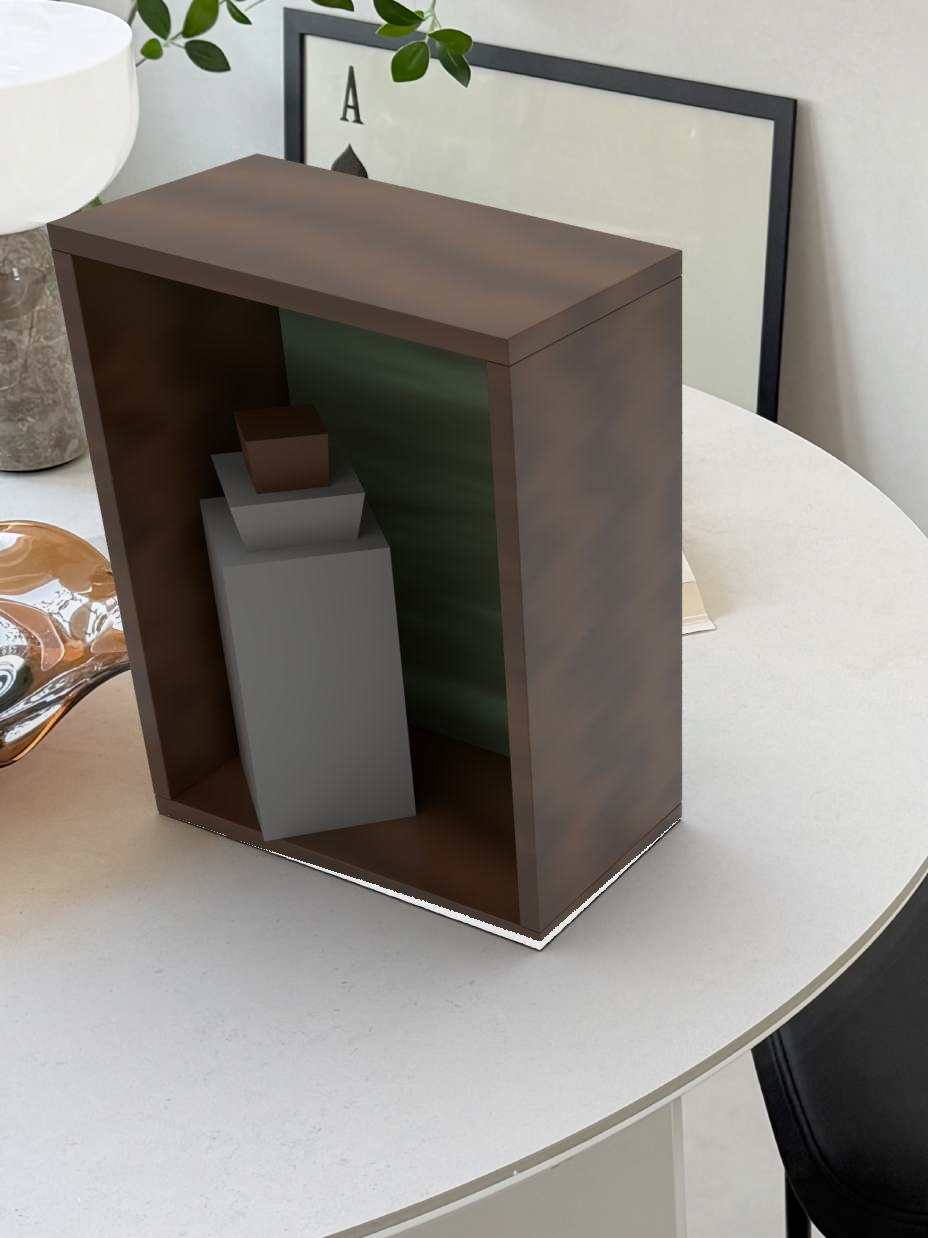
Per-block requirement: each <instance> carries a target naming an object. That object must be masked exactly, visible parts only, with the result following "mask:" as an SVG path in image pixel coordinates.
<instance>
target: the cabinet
mask: <svg viewBox="0 0 928 1238" xmlns="http://www.w3.org/2000/svg"><path fill="white" fill-rule="evenodd" d="M45 225H46V229H47V230H46V231H47V236H48V241H49V246H50V249H51V250H50V252H51V257H52V261H53V268H54V273H55V277H56V283H57V289H58V294H59V301H60V304H61V305H60V306H61V309H62V315H63V320H64V321H63V322H64V326H65V330H66V337H67V341H68V346H69V347H68V348H69V351H70V358H71V363H72V367H73V373H74V379H75V383H76V389H77V394H78V400H79V405H80V411H81V415H82V420H83V421H82V422H83V427H84V431H85V436H86V442H87V448H88V453H89V456H90V462H91V468H92V473H93V479H94V484H95V488H96V494H97V499H98V505H99V511H100V515H101V522H102V525H103V532H104V536H105V542H106V546H107V547H106V548H107V553H108V557H109V562H110V569H111V573H112V579H113V584H114V590H115V596H116V599H117V605H118V610H119V616H120V621H121V626H122V627H121V628H122V632H123V638H124V641H125V647H126V652H127V658H128V665H129V669H130V673H131V679H132V680H131V681H132V685H133V690H134V695H135V700H136V706H137V711H138V717H139V721H140V727H141V732H142V738H143V743H144V747H145V754H146V758H147V759H146V760H147V763H148V770H149V773H150V779H151V785H152V791H153V794H154V799H155V803H156V810H157V812H158V813H160V814H163V815H164V816H165V815H166V816H168V815H169V816H168V817H170V816H171V818H173V817H174V818H173V819H176V818H178V819H177V820H179V819H181V820H184V821H187V822H190V823H192V824H195V825H198V826H201V827H204V828H206V829H209V830H212V831H215V832H218V833H221V834H224V835H226V836H227V837H226V838H228V837H230V838H229V839H231V838H233V839H232V840H234V839H236V840H238V841H237V842H239V841H242V842H245V843H248V844H250V845H253V846H256V847H259V848H262V849H265V850H266V849H267V850H268V851H269V850H270V851H271V852H272V851H273V852H276V853H279V854H282V855H285V856H288V857H291V858H294V859H297V860H300V861H303V862H306V863H310V864H313V865H316V866H319V867H322V868H325V869H328V870H331V871H334V872H337V873H341V874H344V875H347V876H350V877H353V878H356V879H360V880H361V879H362V880H363V881H366V882H369V883H372V884H376V885H379V886H380V887H383V888H386V889H390V890H393V891H394V892H395V891H396V892H397V893H402V894H404V895H407V896H410V897H412V896H413V897H414V898H415V899H420V900H421V901H422V900H424V901H425V902H426V901H427V902H428V903H431V904H435V905H438V906H439V907H441V906H442V907H443V908H446V909H449V910H450V911H451V910H453V911H454V912H458V913H461V914H464V915H465V916H466V915H468V916H469V917H470V918H474V919H477V920H480V921H482V922H483V921H484V922H485V923H488V924H492V925H493V926H494V925H495V926H496V927H500V928H503V929H504V930H506V929H507V930H508V931H512V932H515V933H516V934H517V933H519V934H520V935H524V936H526V937H528V938H530V937H531V938H532V939H533V940H537V941H542V940H543V939H544V937H546V936H547V935H549V933H550V932H551V931H553V929H555V927H557V926H559V924H560V923H561V922H563V921H564V920H565V919H566V918H567V917H568V916H569V915H570V914H572V912H574V910H575V911H576V909H578V908H579V907H580V906H581V905H582V904H583V903H585V901H587V899H589V898H590V897H591V896H592V895H593V894H594V893H596V892H597V891H598V890H599V888H601V887H603V885H604V884H606V882H608V880H610V879H611V878H613V876H615V874H617V873H618V872H620V870H621V869H623V868H624V867H625V866H626V865H628V863H630V862H631V860H633V859H634V858H636V856H638V855H639V854H641V852H642V851H644V849H646V848H647V846H649V845H650V844H652V843H653V842H654V841H655V840H656V839H657V838H658V837H660V836H661V834H663V833H664V831H666V830H667V829H669V827H670V826H672V824H673V823H675V822H676V821H678V819H679V818H681V817H682V818H683V250H682V249H680V248H674V247H671V246H666V245H661V244H657V243H654V242H653V243H652V242H648V241H644V240H639V239H635V238H631V237H626V236H621V235H618V234H613V233H608V232H605V231H600V230H596V229H591V228H587V227H583V226H578V225H574V224H569V223H564V222H562V221H561V222H560V221H556V220H551V219H547V218H543V217H539V216H534V215H530V214H525V213H520V212H516V211H512V210H507V209H504V208H499V207H495V206H492V205H491V206H490V205H485V204H482V203H478V202H473V201H468V200H465V199H459V198H456V197H452V196H451V197H450V196H447V195H441V194H439V193H438V194H437V193H433V192H429V191H424V190H420V189H415V188H411V187H408V186H406V187H405V186H402V185H399V184H393V183H389V182H385V181H380V180H376V179H371V178H369V177H364V176H358V175H353V174H350V173H345V172H341V171H336V170H332V169H328V168H323V167H319V166H314V165H310V164H306V163H301V162H297V161H292V160H288V159H283V158H279V157H276V156H275V157H274V156H270V155H266V154H262V153H254V154H250V155H247V156H245V157H242V158H239V159H235V160H233V161H230V162H227V163H224V164H220V165H217V166H214V167H212V168H208V169H206V170H201V171H200V172H199V171H198V172H196V173H193V174H191V175H187V176H184V177H182V178H178V179H175V180H172V181H169V182H166V183H164V184H160V185H157V186H154V187H151V188H148V189H145V190H142V191H139V192H136V193H133V194H130V195H127V196H124V197H120V198H118V199H115V200H111V201H108V202H105V203H102V204H100V205H95V206H93V207H90V208H88V209H85V210H81V211H78V212H75V213H72V214H70V215H69V214H68V215H66V216H63V217H60V218H57V219H54V220H52V221H48V222H46V223H45ZM309 404H314V406H315V408H316V410H317V412H318V415H319V417H320V419H321V421H322V423H323V425H324V427H325V429H326V431H327V433H328V443H335V442H341V444H342V446H343V449H344V451H345V453H346V455H347V457H348V459H349V461H350V463H351V465H352V467H353V469H354V471H355V473H356V475H357V477H358V479H359V481H360V483H361V485H362V488H363V490H364V492H365V497H366V499H367V502H368V504H369V506H370V508H371V510H372V512H373V514H374V516H375V518H376V520H377V522H378V524H379V526H380V528H381V530H382V532H383V535H384V537H385V539H386V541H387V543H388V545H389V547H390V555H391V565H392V575H393V585H394V595H395V605H396V616H397V626H398V636H399V646H400V656H401V667H402V677H403V687H404V697H405V707H406V718H407V728H408V738H409V748H410V758H411V769H412V779H413V789H414V799H415V809H416V816H411V817H405V818H399V819H393V820H387V821H381V822H375V823H369V824H363V825H358V826H352V827H346V828H340V829H334V830H328V831H322V832H316V833H311V834H305V835H299V836H293V837H287V838H281V839H275V840H269V841H264V837H263V834H262V831H261V827H260V824H259V821H258V817H257V814H256V811H255V807H254V804H253V801H252V797H251V794H250V791H249V788H248V784H247V781H246V778H245V774H244V771H243V768H242V764H241V758H240V751H239V745H238V739H237V733H236V726H235V720H234V714H233V707H232V701H231V695H230V688H229V682H228V676H227V669H226V663H225V657H224V650H223V644H222V638H221V632H220V625H219V619H218V613H217V606H216V600H215V594H214V587H213V581H212V575H211V568H210V562H209V556H208V549H207V543H206V537H205V531H204V524H203V518H202V512H201V505H200V499H208V498H217V497H226V496H225V494H224V491H223V488H222V485H221V483H220V480H219V477H218V474H217V471H216V469H215V466H214V463H213V460H212V457H211V455H215V454H225V453H235V452H243V451H242V447H241V442H240V438H239V433H238V429H237V424H236V420H235V415H234V411H244V410H255V409H266V408H276V407H287V406H298V405H309ZM181 820H180V821H181ZM184 821H183V822H184ZM187 822H186V823H187ZM190 823H189V824H190ZM192 824H191V825H192ZM195 825H194V826H195ZM198 826H197V827H198ZM201 827H200V828H201ZM206 829H205V830H206ZM209 830H208V831H209ZM212 831H211V832H212ZM236 840H235V841H236ZM242 842H241V843H242ZM245 843H244V844H245ZM250 845H249V846H250ZM253 846H252V847H253ZM256 847H255V848H256Z"/></svg>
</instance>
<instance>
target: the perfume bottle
mask: <svg viewBox="0 0 928 1238" xmlns="http://www.w3.org/2000/svg"><path fill="white" fill-rule="evenodd" d="M234 415H235V420H236V424H237V429H238V433H239V438H240V442H241V447H242V451H243V452H235V453H225V454H215V455H211V457H212V460H213V463H214V466H215V469H216V471H217V474H218V477H219V480H220V483H221V485H222V488H223V491H224V494H225V496H226V497H217V498H208V499H200V505H201V512H202V518H203V524H204V531H205V537H206V543H207V549H208V556H209V562H210V568H211V575H212V581H213V587H214V594H215V600H216V606H217V613H218V619H219V625H220V632H221V638H222V644H223V650H224V657H225V663H226V669H227V676H228V682H229V688H230V695H231V701H232V707H233V714H234V720H235V726H236V733H237V739H238V745H239V751H240V758H241V764H242V768H243V771H244V774H245V778H246V781H247V784H248V788H249V791H250V794H251V797H252V801H253V804H254V807H255V811H256V814H257V817H258V821H259V824H260V827H261V831H262V834H263V837H264V841H269V840H275V839H281V838H287V837H293V836H299V835H305V834H311V833H316V832H322V831H328V830H334V829H340V828H346V827H352V826H358V825H363V824H369V823H375V822H381V821H387V820H393V819H399V818H405V817H411V816H416V809H415V799H414V789H413V779H412V769H411V758H410V748H409V738H408V728H407V718H406V707H405V697H404V687H403V677H402V667H401V656H400V646H399V636H398V626H397V616H396V605H395V595H394V585H393V575H392V565H391V555H390V547H389V545H388V543H387V541H386V539H385V537H384V535H383V532H382V530H381V528H380V526H379V524H378V522H377V520H376V518H375V516H374V514H373V512H372V510H371V508H370V506H369V504H368V502H367V499H366V497H365V492H364V490H363V488H362V485H361V483H360V481H359V479H358V477H357V475H356V473H355V471H354V469H353V467H352V465H351V463H350V461H349V459H348V457H347V455H346V453H345V451H344V449H343V446H342V444H341V442H335V443H328V433H327V431H326V429H325V427H324V425H323V423H322V421H321V419H320V417H319V415H318V412H317V410H316V408H315V406H314V404H309V405H298V406H287V407H276V408H266V409H255V410H244V411H234Z"/></svg>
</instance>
